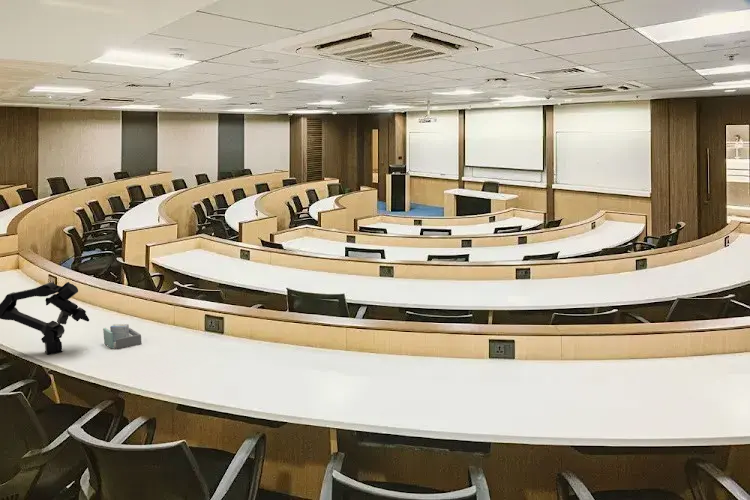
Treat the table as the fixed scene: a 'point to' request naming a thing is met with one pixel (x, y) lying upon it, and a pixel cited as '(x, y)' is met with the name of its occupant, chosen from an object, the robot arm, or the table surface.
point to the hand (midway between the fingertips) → (88, 320)
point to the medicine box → (119, 331)
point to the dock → (129, 340)
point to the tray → (109, 338)
